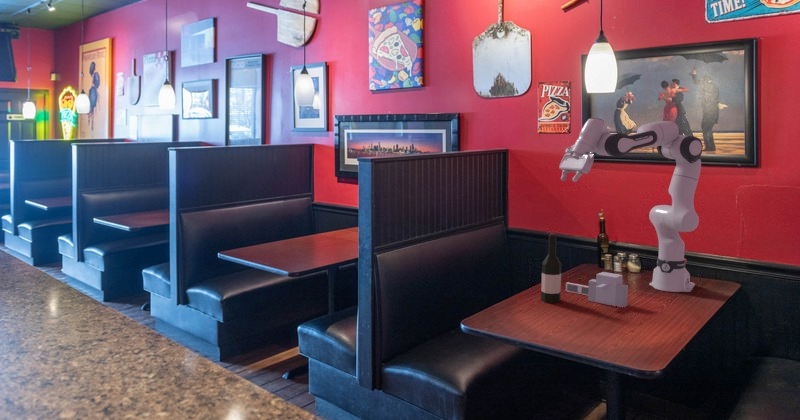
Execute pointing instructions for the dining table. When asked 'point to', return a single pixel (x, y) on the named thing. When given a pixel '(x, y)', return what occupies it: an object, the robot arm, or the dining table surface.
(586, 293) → the white u-shaped bracket
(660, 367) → the dining table surface
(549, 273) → the wine bottle
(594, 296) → the white block with peg
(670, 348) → the dining table surface
